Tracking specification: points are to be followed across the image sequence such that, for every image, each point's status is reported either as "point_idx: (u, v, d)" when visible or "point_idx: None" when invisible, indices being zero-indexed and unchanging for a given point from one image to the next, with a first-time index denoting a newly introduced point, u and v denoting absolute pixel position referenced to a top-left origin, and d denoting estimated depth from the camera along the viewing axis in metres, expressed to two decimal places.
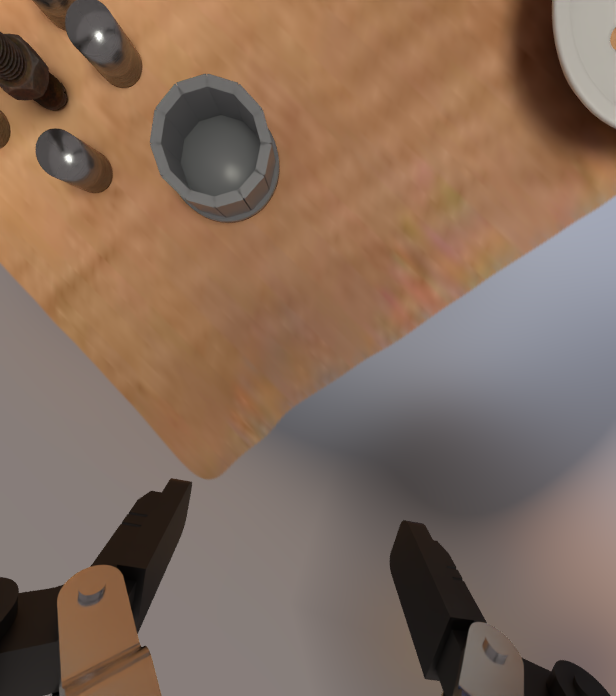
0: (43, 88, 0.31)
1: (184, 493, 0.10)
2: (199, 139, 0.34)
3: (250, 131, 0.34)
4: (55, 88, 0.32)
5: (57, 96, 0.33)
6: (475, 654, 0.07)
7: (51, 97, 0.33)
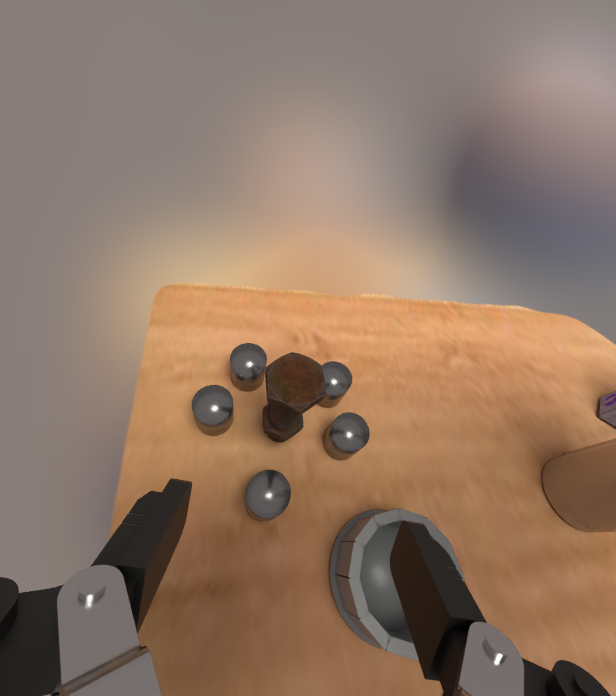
0: None
1: (184, 493, 0.10)
2: (374, 537, 0.35)
3: None
4: None
5: None
6: (475, 654, 0.07)
7: None
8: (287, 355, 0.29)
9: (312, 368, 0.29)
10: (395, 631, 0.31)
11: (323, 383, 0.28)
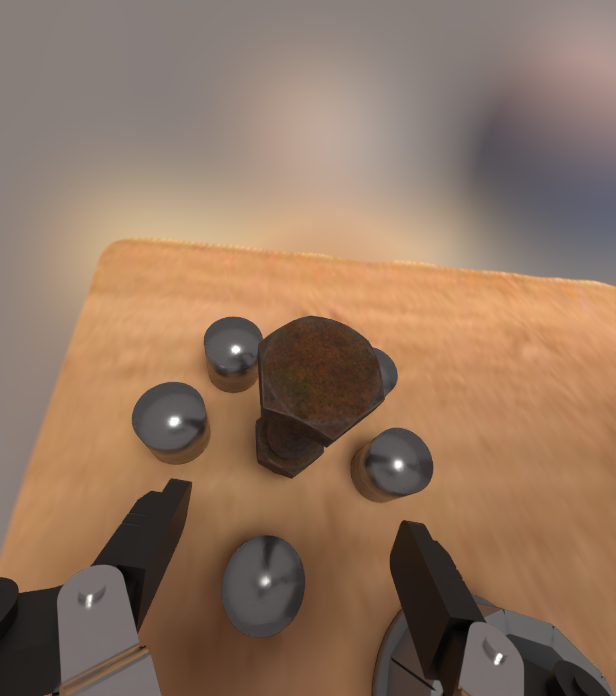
0: (299, 472, 0.21)
1: (184, 493, 0.10)
2: None
3: None
4: None
5: None
6: (475, 654, 0.07)
7: None
8: (302, 320, 0.14)
9: (354, 346, 0.14)
10: None
11: (379, 377, 0.13)
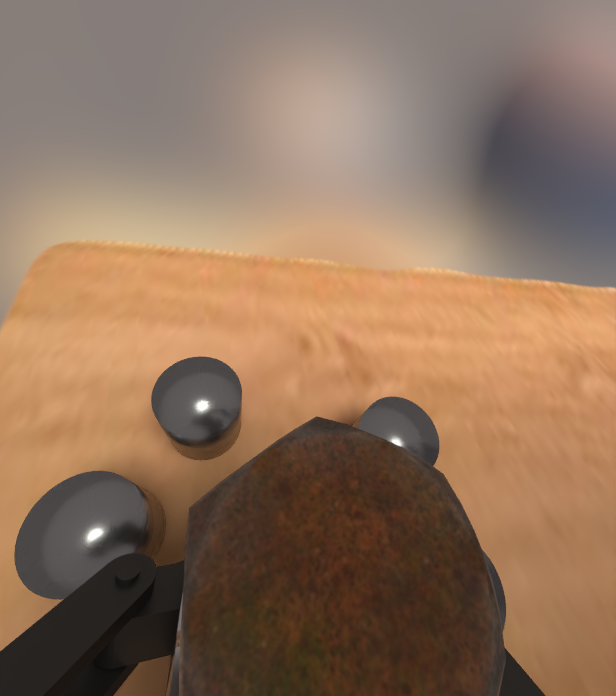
0: None
1: None
2: None
3: None
4: None
5: None
6: None
7: None
8: (297, 438, 0.06)
9: (420, 505, 0.06)
10: None
11: (489, 598, 0.05)
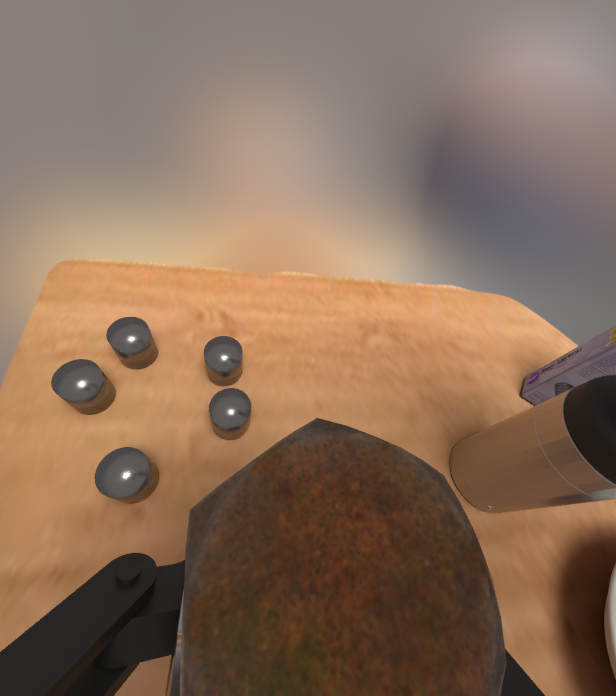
0: None
1: None
2: None
3: None
4: None
5: None
6: None
7: None
8: (298, 439, 0.06)
9: (420, 506, 0.06)
10: None
11: (490, 600, 0.05)
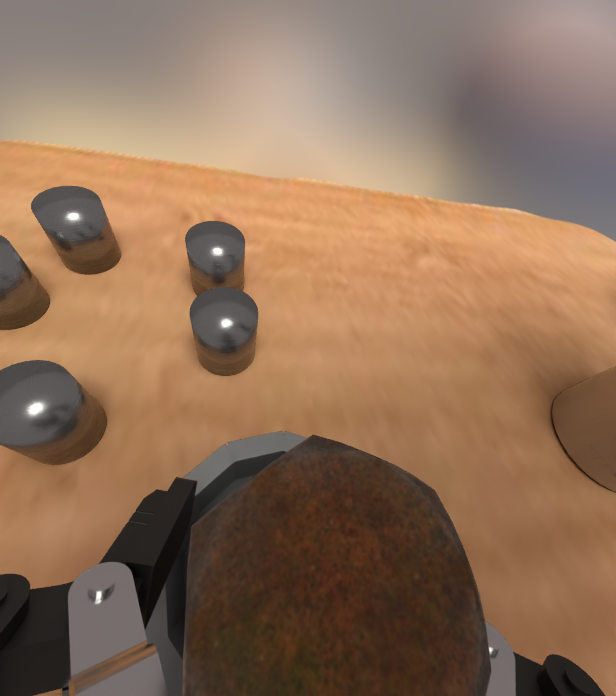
0: None
1: (189, 492, 0.11)
2: None
3: None
4: None
5: None
6: None
7: None
8: (294, 457, 0.06)
9: (411, 522, 0.06)
10: None
11: (476, 612, 0.06)
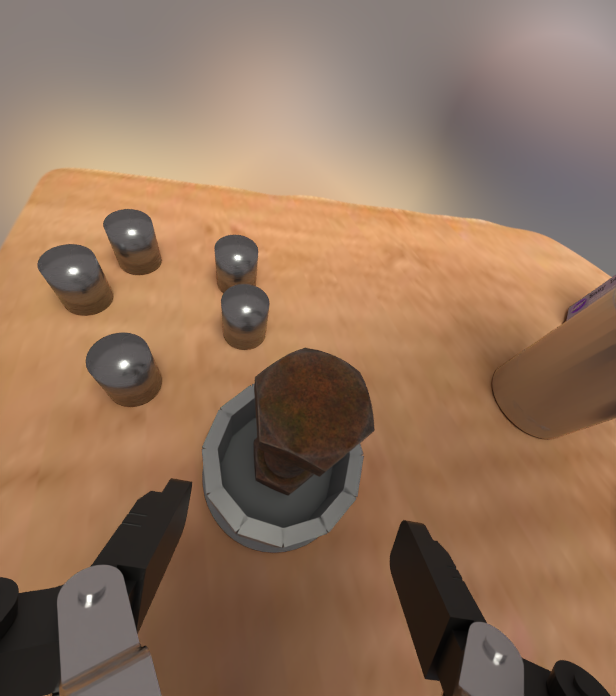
0: None
1: (184, 493, 0.10)
2: None
3: None
4: None
5: None
6: (475, 654, 0.07)
7: None
8: (296, 353, 0.15)
9: (345, 378, 0.15)
10: None
11: (369, 408, 0.14)
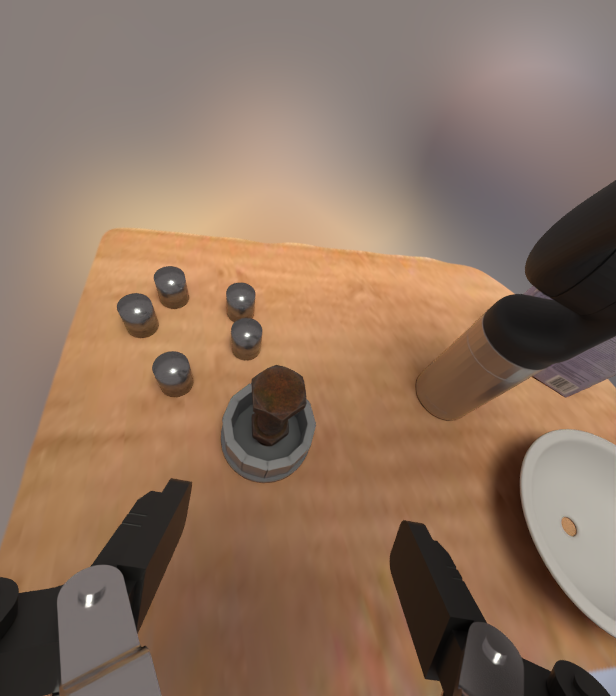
0: (275, 443, 0.39)
1: (184, 493, 0.10)
2: None
3: (297, 427, 0.44)
4: None
5: None
6: (475, 654, 0.07)
7: None
8: (271, 368, 0.32)
9: (294, 380, 0.31)
10: None
11: (304, 394, 0.31)
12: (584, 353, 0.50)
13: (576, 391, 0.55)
